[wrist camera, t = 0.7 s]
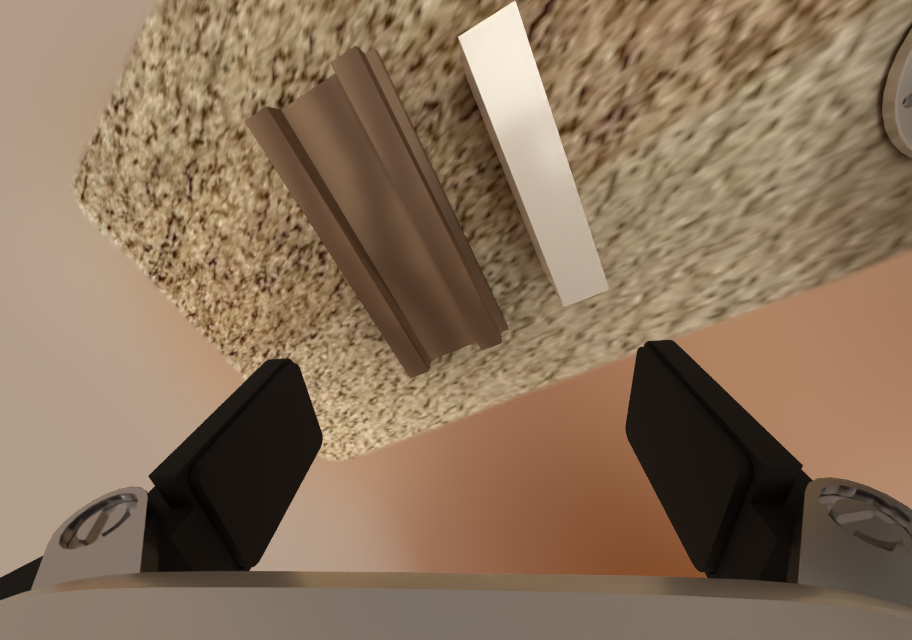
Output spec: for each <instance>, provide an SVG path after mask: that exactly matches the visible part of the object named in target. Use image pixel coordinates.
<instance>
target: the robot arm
mask: <svg viewBox="0 0 912 640" xmlns="http://www.w3.org/2000/svg"><path fill="white" fill-rule="evenodd" d="M882 115H883V121H884V127H885V130H886V132H887V134H888V136H889V139H890V141H891V142H892V143H893V144H894V146H895V147H896V148H897V149H898V150H899V151H900V152H901V153H903V154H905V155H907V156H908V157H910V158H912V29H911V30H910V32H909V34H908V35H907V37H906V39H905V40H904V42H903V44H902V46H901V47H900V49H899V51H898V53H897V55H896V57H895V60H894V62H893V64H892V67H891V69H890V71H889V74H888V78H887V82H886V86H885V90H884V94H883V107H882ZM626 435H627V438H628V441H629V443H630V444H631V446H632V448H633V450H634V452H635V454H636V456H637V458H638V460H639V462H640V463H641V466H642V468H643V469H644V471H645V473H646V475H647V477H648V479H649V481H650V483H651V485H652V487H653V488H654V491H655V492H656V494H657V496H658V498H659V500H660V502H661V504H662V506H663V508H664V510H665V512H666V514H667V516H668V517H669V519H670V521H671V523H672V525H673V527H674V529H675V531H676V533H677V535H678V537H679V538H680V540H681V542H682V544H683V546H684V548H685V550H686V552H687V554H688V556H689V558H690V560H691V562H692V563H693V565H694V567H695V568H696V569H697V570H698V571H700V572H705V574H706V575H707V578H688V577H659V576H658V577H657V576H612V575H610V576H609V575H607V576H606V575H555V574H554V575H553V574H550V575H549V574H494V573H490V574H489V573H409V572H408V573H407V572H406V573H405V572H289V571H288V572H287V571H285V572H283V571H279V572H277V571H249V570H250V569H251V567H254V566H256V564H257V563H258V562H259V561H260V559H261V557H262V556H263V554H264V552H265V550H266V548H267V546H268V544H269V542H270V541H271V539H272V537H273V535H274V533H275V531H276V530H277V528H278V526H279V524H280V522H281V520H282V518H283V516H284V515H285V513H286V511H287V509H288V507H289V505H290V503H291V502H292V500H293V498H294V496H295V494H296V492H297V490H298V489H299V487H300V485H301V483H302V481H303V479H304V477H305V475H306V474H307V472H308V470H309V468H310V466H311V464H312V462H313V461H314V459H315V457H316V455H317V453H318V451H319V450H320V448H321V445H322V439H323V437H322V432H321V429H320V426H319V423H318V420H317V417H316V414H315V411H314V408H313V406H312V403H311V400H310V397H309V394H308V391H307V388H306V385H305V382H304V379H303V376H302V373H301V370H300V367H299V366H298V364H296V363H294V362H293V361H292V360H291V359H270V360H267V361H266V362H264V363H263V364H262V365H261V366H260V367H259V368H258V369H257V370H256V371H255V372H254V373H253V374H252V375H251V376H250V377H249V378H248V379H247V380H246V381H245V382H244V383H243V384H242V385H241V386H240V387H239V388H238V389H237V390H236V391H235V392H234V393H233V394H232V395H231V396H230V397H229V398H228V399H227V400H226V401H225V402H224V403H223V404H222V405H221V406H219V407H218V409H217V410H215V411H214V413H212V414H211V415H210V416H209V417H208V418H207V419H206V420H205V421H204V422H203V423H202V424H201V425H200V426H199V427H198V428H197V429H196V430H195V431H194V432H193V433H192V434H191V435H190V436H189V437H188V438H187V439H186V440H185V441H184V442H183V443H182V444H181V445H180V446H179V447H178V448H177V449H176V450H175V451H173V453H171V454H170V455H169V456H168V457H167V458H166V459H165V460H164V461H163V462H162V463H161V464H160V465H159V466H158V467H157V468H156V469H155V470H154V471H153V472H152V473H151V474H150V475H149V478H150V479H151V480H152V482H153V484H154V485H155V487H154V488H153V489H152V490H151V491H150V492H149V493H147V491H146V490H144V489H143V488H141V487H127V488H122V489H118V490H116V491H113V492H110V493H108V494H105V495H103V496H101V497H99V498H97V499H96V500H93V501H92V502H90V503H89V504H87V505H86V506H84V507H82V508H81V509H79V510H78V511H77V512H75V513H74V514H73V515H72V516H71V517H69V518H68V519H67V520H66V521H65V522H64V523H63V524H62V525H61V526H60V527H59V528H58V529H57V530H56V531H55V533H54V534H53V536H52V538H51V539H50V541H49V543H48V545H47V548H46V550H45V553H44V556H42V557H40V558H38V559H36V560H34V561H32V562H30V563H28V564H26V565H24V566H22V567H20V568H18V569H17V570H14V571H13V572H11V573H9V574H7V575H5V576H3V577H1V578H0V640H912V510H911V509H910V508H908V507H907V506H906V505H904V504H902V503H900V502H899V501H897V500H895V499H894V498H892V497H890V496H889V495H887V494H884V493H882V492H880V491H878V490H875V489H873V488H871V487H868V486H866V485H863V484H859V483H856V482H853V481H849V480H844V479H838V478H818V479H816V480H814V481H813V480H812V479H811V478H809V477H808V475H806V474H805V473H804V472H803V471H802V470H801V468H802V466H803V465H802V464H801V463H800V462H799V461H798V460H797V459H796V458H795V457H794V456H792V455H791V454H790V453H789V452H788V451H787V450H786V449H785V448H784V447H783V446H782V445H781V444H780V443H779V442H778V441H777V440H776V439H775V438H774V437H773V436H772V435H771V434H770V433H769V432H767V431H766V429H765V428H764V427H762V426H761V425H760V424H759V423H758V422H757V421H756V420H755V419H754V418H753V417H752V416H751V415H750V414H749V413H748V412H747V411H746V410H745V409H744V408H743V407H742V406H741V405H740V404H739V403H737V401H735V400H734V399H733V398H732V397H731V396H730V395H729V394H728V393H727V392H726V391H725V390H724V389H723V388H722V387H721V386H720V385H719V384H718V383H717V382H716V381H715V380H714V379H713V378H712V377H711V376H709V374H707V373H706V372H705V371H704V370H703V369H702V368H701V367H700V366H699V365H698V364H697V363H696V362H695V361H694V360H693V359H692V358H691V357H690V356H689V355H688V354H687V353H686V352H685V351H684V350H683V349H681V347H679V346H678V345H677V344H676V343H675V342H674V341H672V340H660V341H647V342H646V343H645V345H644V347H639V348H638V351H637V355H636V362H635V368H634V375H633V381H632V388H631V395H630V401H629V407H628V415H627V420H626Z"/></svg>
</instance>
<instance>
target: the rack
mask: <svg viewBox="0 0 912 640" xmlns="http://www.w3.org/2000/svg"><path fill="white" fill-rule="evenodd" d="M331 65H332V67H333V69H334V71H335V74H334V75H332V76H331V77H329V78H328V79H326V80H325V81H323V82H322V83H320V84H319V85H317V86H316V87H314V88H313V89H311V90H310V91H309V92H307V93H306V94H304V95H303V96H301V97H300V98H298V99H297V100H295V101H294V102H292V103H291V104H289V105H288V106H286V107H285V108H283V109H282V110H279V109H275V108H270V107H265V108H264V109H262V110H261V111H259V112H258V113H256V114H255V115H253V116H252V117H250V118H249V119H248V120H246V121H245V123H246V124H247V126H248V127H249V129H250V130H251V132H252V133H253V135H254V137H255V138H256V140H257V141H258V143H259V144H260V146H261V147H262V149H263V150H264V152H265V154H266V155H267V157H268V158H269V160H270V161H271V163H272V164H273V166H274V168H275V169H276V171H277V172H278V174H279V175H280V177H281V178H282V180H283V181H284V183H285V185H286V186H287V188H288V189H289V191H290V192H291V194H292V195H293V197H294V199H295V200H296V202H297V203H298V205H299V206H300V208H301V209H302V211H303V212H304V214H305V216H306V217H307V219H308V220H309V222H310V223H311V225H312V226H313V228H314V230H315V231H316V233H317V234H318V236H319V237H320V239H321V240H322V242H323V243H324V245H325V247H326V248H327V250H328V251H329V253H330V254H331V256H332V257H333V259H334V261H335V262H336V264H337V265H338V267H339V268H340V270H341V271H342V273H343V274H344V276H345V278H346V279H347V281H348V282H349V284H350V285H351V287H352V288H353V290H354V292H355V293H356V295H357V296H358V298H359V299H360V301H361V302H362V304H363V305H364V307H365V309H366V310H367V312H368V313H369V315H370V316H371V318H372V319H373V321H374V322H375V324H376V326H377V327H378V329H379V330H380V332H381V333H382V335H383V336H384V338H385V340H386V341H387V343H388V344H389V346H390V347H391V349H392V350H393V352H394V353H395V355H396V357H397V358H398V360H399V361H400V363H401V364H402V366H403V367H404V369H405V371H406V372H407V374H408V375H409V377H410V378H412V377H415V376H417V375H420V374H423V373H425V372H428V371H429V367H430V363H431V360H432V359H435V358H437V357H440V356H442V355H445V354H447V353H450V352H452V351H455V350H457V349H460V348H462V347H465V346H467V345H470V344H473V343H475V342H477V343H478V345H479V347H480V349H481V350H485V349H487V348H490V347H492V346H495V345H498V344H500V343H502V339H501V332H503V331H505V330H508V326H507V323H506V321H505V319H504V317H503V315H502V313H501V310H500V308H499V306H498V304H497V302H496V300H495V298H494V296H493V294H492V291H491V289H490V287H489V285H488V283H487V281H486V279H485V277H484V275H483V273H482V270H481V268H480V266H479V264H478V262H477V260H476V258H475V256H474V254H473V251H472V249H471V247H470V245H469V243H468V241H467V239H466V237H465V235H464V232H463V230H462V228H461V226H460V224H459V222H458V220H457V218H456V216H455V214H454V211H453V209H452V207H451V205H450V203H449V201H448V199H447V197H446V195H445V192H444V190H443V188H442V186H441V184H440V182H439V180H438V178H437V176H436V173H435V171H434V169H433V167H432V165H431V163H430V161H429V159H428V157H427V154H426V152H425V150H424V148H423V146H422V144H421V142H420V140H419V138H418V136H417V133H416V131H415V129H414V127H413V125H412V123H411V121H410V119H409V117H408V114H407V112H406V110H405V108H404V106H403V104H402V102H401V100H400V98H399V95H398V93H397V91H396V89H395V87H394V85H393V83H392V81H391V79H390V76H389V74H388V72H387V70H386V68H385V66H384V64H383V62H382V60H381V58H380V55H379V53H378V51H377V50H376V49H375V48H373V49H371V50H370V51H368V52H367V53H363V52H362V51H361V50H360V49H359V48H358V47H356V46H354V47H353V48H351V49H350V50H348V51H347V52H346V53H344V54H343V55H341V56H340V57H338V58H337V59H335V60H334V61H332V62H331Z"/></svg>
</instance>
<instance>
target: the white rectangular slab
mask: <svg viewBox="0 0 912 640" xmlns="http://www.w3.org/2000/svg"><path fill="white" fill-rule="evenodd" d="M458 39H459V44H460V50H461V55H462V61H463V67H464V72H465V76H466V78H467V81H468V83H469V86H470V88H471V91H472V93H473V96H474V98H475V101H476V103H477V106H478V108H479V111H480V113H481V116H482V118H483V121H484V123H485V126H486V128H487V131H488V133H489V136H490V138H491V141H492V143H493V146H494V148H495V151H496V153H497V156H498V158H499V161H500V163H501V166H502V168H503V171H504V173H505V176H506V178H507V181H508V183H509V186H510V188H511V191H512V193H513V196H514V198H515V201H516V203H517V206H518V208H519V211H520V213H521V216H522V218H523V221H524V223H525V226H526V228H527V231H528V233H529V236H530V238H531V241H532V243H533V246H534V248H535V251H536V253H537V256H538V258H539V261H540V263H541V266H542V268H543V270H544V272H545V274H546V275H547V277H548V279H549V281H550V283H551V285H552V286H553V288H554V290H555V292H556V294H557V295H558V297H559V299H560V301H561V303H562V305H563V306H564V307H566V306H568V305H571V304H574V303H576V302H579V301H581V300H584V299H586V298H589V297H591V296H594V295H596V294H599V293H601V292H604V291H607V290H609V287H608V284H607V281H606V277H605V274H604V271H603V268H602V265H601V262H600V259H599V256H598V253H597V250H596V247H595V244H594V241H593V238H592V235H591V231H590V228H589V225H588V222H587V219H586V216H585V213H584V210H583V207H582V204H581V201H580V198H579V195H578V192H577V189H576V186H575V182H574V179H573V176H572V173H571V170H570V167H569V164H568V161H567V158H566V155H565V152H564V149H563V146H562V143H561V140H560V136H559V133H558V130H557V127H556V124H555V121H554V118H553V115H552V112H551V109H550V106H549V103H548V100H547V97H546V94H545V91H544V87H543V84H542V81H541V78H540V75H539V72H538V69H537V66H536V63H535V60H534V57H533V54H532V51H531V48H530V45H529V41H528V38H527V35H526V32H525V29H524V26H523V23H522V20H521V17H520V14H519V11H518V8H517V5H516V2H515V1H514V2H512V3H511V4H509V5H508V6H506V7H504V8H503V9H501V10H500V11H498V12H497V13H495V14H493V15H492V16H490V17H489V18H487V19H486V20H484V21H482V22H481V23H479V24H478V25H476V26H475V27H473V28H471V29H470V30H468V31H467V32H465V33H464V34H462V35H460V36H459V37H458Z"/></svg>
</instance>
